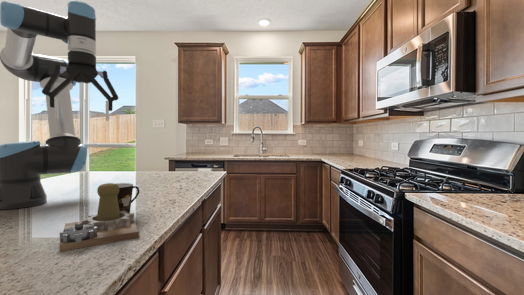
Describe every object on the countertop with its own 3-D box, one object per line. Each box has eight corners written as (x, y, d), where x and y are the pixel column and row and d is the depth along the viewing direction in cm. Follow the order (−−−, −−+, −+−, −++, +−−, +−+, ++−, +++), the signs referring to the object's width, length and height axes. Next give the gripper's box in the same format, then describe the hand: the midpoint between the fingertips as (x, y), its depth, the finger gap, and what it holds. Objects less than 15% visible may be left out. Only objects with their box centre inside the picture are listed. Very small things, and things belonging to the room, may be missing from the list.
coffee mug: (105, 223, 78) (105, 189, 78) (99, 216, 84) (99, 185, 84) (146, 215, 86) (146, 184, 85) (138, 210, 92) (138, 181, 92)
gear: (61, 235, 64) (61, 222, 64) (96, 230, 68) (96, 217, 68) (58, 245, 58) (58, 231, 58) (97, 239, 62) (97, 225, 61)
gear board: (65, 228, 73) (65, 216, 72) (130, 219, 81) (130, 208, 81) (59, 251, 58) (59, 235, 58) (139, 237, 67) (139, 223, 67)
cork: (109, 228, 69) (109, 186, 69) (90, 226, 70) (89, 185, 70) (126, 221, 75) (126, 182, 74) (107, 219, 76) (107, 181, 76)
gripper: (29, 42, 76) (30, 116, 76) (126, 57, 89) (127, 120, 90) (33, 49, 82) (34, 118, 83) (124, 62, 96) (124, 121, 96)
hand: (83, 119), depth 86 cm, fingers open, 13 cm apart
